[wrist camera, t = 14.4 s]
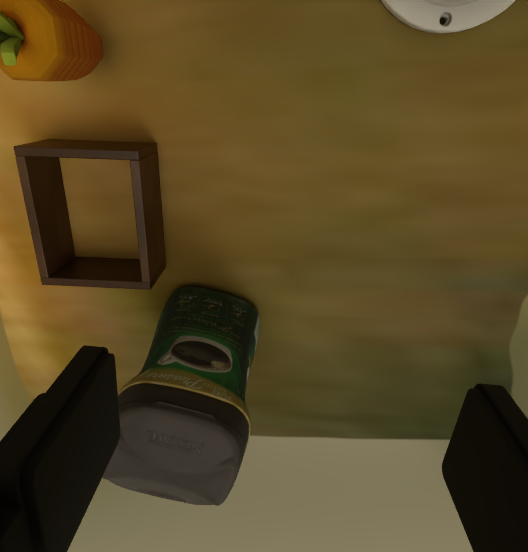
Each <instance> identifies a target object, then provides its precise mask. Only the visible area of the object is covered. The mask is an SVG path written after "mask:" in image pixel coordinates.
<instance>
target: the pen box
mask: <svg viewBox="0 0 528 552" xmlns="http://www.w3.org/2000/svg"><path fill="white" fill-rule="evenodd" d="M14 151H15V155H16V162H17V166H18V171H19V176H20V181H21V186H22V190H23V195H24V200H25V205H26V210H27V215H28V219H29V224H30V229H31V234H32V239H33V243H34V248H35V253H36V258H37V263H38V268H39V272H40V277H41V281H42V284H43V285H61V286H83V287H105V288H126V289H148V290H150V289H151V288H152V287H153V285H154V284H155V282H156V281H157V279H158V278H159V276H160V275H161V273H162V272H163V270H164V269H165V268H166V262H165V247H164V233H163V220H162V206H161V192H160V179H159V165H158V152H157V143H142V142H114V141H85V140H56V139H47V140H42V141H37V142H33V143H28V144H23V145H18V146H14ZM59 157H62V158H89V159H117V160H130V165H131V175H132V185H133V196H134V206H135V216H136V226H137V236H138V246H139V256H140V260H137V259H114V258H91V257H75V252H74V246H73V240H72V234H71V228H70V222H69V216H68V210H67V204H66V198H65V192H64V186H63V180H62V174H61V168H60V162H59Z"/></svg>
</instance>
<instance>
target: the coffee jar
mask: <svg viewBox="0 0 528 552" xmlns="http://www.w3.org/2000/svg"><path fill="white" fill-rule="evenodd" d="M259 327H260V319H259V315H258V312H257V311H256V309H255V308H254V307H253V306H252V305H251V304H250V303H248V302H247V301H245V300H242V299H240V298H238V297H235V296H232V295H230V294H226V293H223V292H219V291H216V290H212V289H207V288H201V287H195V286H187V287H182V288H180V289H177V290H176V291H174V292H173V293H172V294H171V295H170V297H169V298H168V300H167V302H166V304H165V306H164V309H163V311H162V314H161V316H160V319H159V322H158V325H157V328H156V332H155V335H154V338H153V342H152V345H151V348H150V351H149V354H148V357H147V359H146V362H145V364H144V366H143V368H142V370H141V372H140V373H139V374H138V375H137V376H136V377H134V378H133V379H132V380H130V381H129V382H128V383H127V384H126V385H125V386H124V387H123V388H122V389H121V391H120V392H119V393H118V406H119V419H120V438H119V442H118V445H117V447H116V449H115V451H114V453H113V455H112V458H111V460H110V462H109V464H108V466H107V468H106V470H105V472H104V474H103V478H104V479H107V480H109V481H110V482H112V483H114V484H116V485H118V486H120V487H123V488H126V489H129V490H133V491H136V492H140V493H144V494H149V495H152V496H157V497H161V498H166V499H170V500H175V501H180V502H185V503H190V504H195V505H221V504H222V503H223V502H224V501H225V499H226V498H227V496H228V494H229V492H230V491H231V489H232V487H233V484H234V482H235V480H236V477H237V474H238V472H239V469H240V466H241V463H242V459H243V456H244V453H245V450H246V447H247V444H248V441H249V437H250V430H251V422H250V415H249V411H248V409H247V406H246V403H245V391H246V384H247V379H248V375H249V371H250V367H251V364H252V360H253V357H254V353H255V349H256V345H257V340H258V335H259Z"/></svg>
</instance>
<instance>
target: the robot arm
mask: <svg viewBox="0 0 528 552" xmlns="http://www.w3.org/2000/svg"><path fill="white" fill-rule="evenodd" d="M381 1H382V3H383V4H384V6H385V7H386V8H387V9H388V10H389V11H390V12H391V13H392V14H393V15H394V16H395V17H396V18H397V19H398V20H400V21H402V22H403V23H405V24H407V25H408V26H410V27H412V28H415V29H418V30H421V31H424V32H428V33H440V34H445V33H453V32H460V31H463V30H466V29H470V28H473V27H475V26H478V25H480V24H482V23H484V22H487V21H489V20H491V19H492V18H494V17H495V16H497V15H498V14H500V13H501V12H503V11H504V10H506V9H507V8H508V7H509V6H510V5H511V4H512V3H513V2H515V1H516V0H381ZM441 17H443V18H444V19H445V22H444V24H443V25H441V24H440V22H439V20H440V18H441ZM119 438H120V419H119V406H118V393H117V381H116V368H115V357H114V354H110V353H108V350H107V348H105V347H95V346H83V347H82V348H81V349H80V350H79V351H78V352H77V354H76V355H75V356H74V358H73V359H72V360H71V361H70V363H69V364H68V365H67V366H66V368H65V369H64V370H63V371H62V373H61V374H60V375H59V376H58V378H57V379H56V380H55V382H54V383H53V384H52V385H51V387H50V388H49V389H48V390H47V392H46V393H42V394H40V395H38V396H37V397H36V398H35V399H34V400H33V402H32V403H31V404H30V405H29V407H28V408H27V409H26V410H25V412H24V413H23V414H22V415H21V417H20V418H19V419H18V420H17V421H16V423H15V424H14V425H13V426H12V428H11V429H10V430H9V431H8V433H7V434H6V435H5V436H4V438H3V439H2V440H1V441H0V552H67V550H68V548H69V546H70V544H71V542H72V540H73V538H74V536H75V533H76V531H77V529H78V527H79V525H80V523H81V521H82V518H83V517H84V515H85V512H86V510H87V508H88V506H89V504H90V502H91V500H92V498H93V495H94V493H95V491H96V489H97V487H98V485H99V483H100V481H101V479H102V477H103V474H104V472H105V470H106V468H107V466H108V464H109V462H110V460H111V458H112V455H113V453H114V451H115V449H116V447H117V445H118V442H119ZM442 472H443V477H444V480H445V482H446V485H447V487H448V490H449V492H450V494H451V497H452V500H453V502H454V505H455V507H456V510H457V512H458V514H459V517H460V519H461V522H462V524H463V527H464V529H465V532H466V534H467V537H468V539H469V542H470V544H471V546H472V549H473V551H474V552H528V419H527V418H526V417H525V415H524V414H523V412H522V411H521V410H520V408H519V407H518V406H517V404H516V403H515V401H514V400H513V399H512V397H511V396H510V395H509V393H508V392H507V391H506V389H505V388H504V387H503V386H500V385H489V384H477V385H476V386H475V387H474V389H472V388H471V389H469V390H468V392H467V394H466V397H465V400H464V403H463V406H462V408H461V411H460V414H459V417H458V420H457V423H456V426H455V428H454V431H453V434H452V437H451V440H450V443H449V446H448V448H447V451H446V454H445V457H444V460H443V463H442Z"/></svg>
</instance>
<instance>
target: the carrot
mask: <svg viewBox="0 0 528 552" xmlns="http://www.w3.org/2000/svg"><path fill="white" fill-rule="evenodd" d="M102 58H103V50H102V41H101V38H100V36H99V35H98V34H97V33H96V32H95V31H94V30H93V29H92V28H91V27H90V26H89V25H88V24H87V23H86V21H85V20H84V19H82V18H81V17H80V16H79V15H78V14H77V13H76V12H75V11H74V10H73V9H71V8H70V7H69V6H68V5H67V4H65V3H63V2H61V1H59V0H0V69H1V70H2V71H3V72H5V73H6V74H7V75H8V76H9V77H10V78H12V79H14V80H29V81H68V80H77V79H79V78H82V77H84V76H86V75H88V74H90V73H91V72H92V71H93V70H94V68H95V67H96V66H97V65H98V63H99V62H100V61H101V59H102Z"/></svg>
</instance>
